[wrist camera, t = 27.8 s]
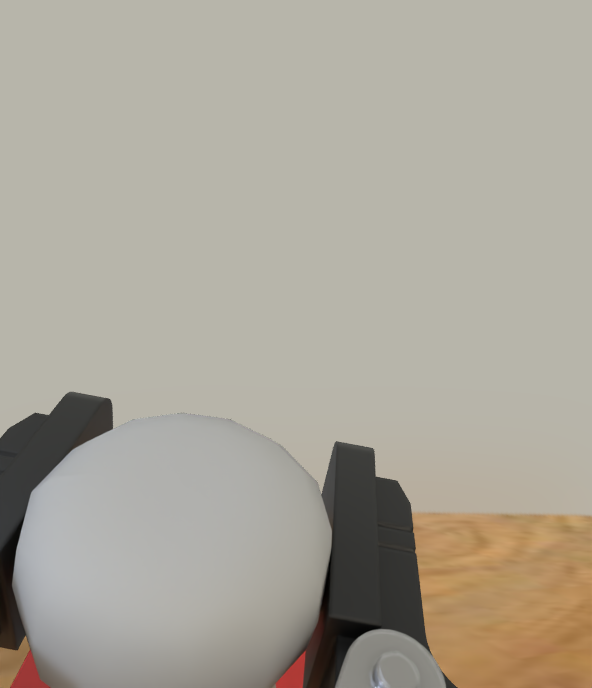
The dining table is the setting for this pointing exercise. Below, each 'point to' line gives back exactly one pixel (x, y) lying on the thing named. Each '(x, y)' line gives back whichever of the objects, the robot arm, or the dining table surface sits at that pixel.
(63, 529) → the salt shaker
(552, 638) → the dining table surface
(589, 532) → the dining table surface
